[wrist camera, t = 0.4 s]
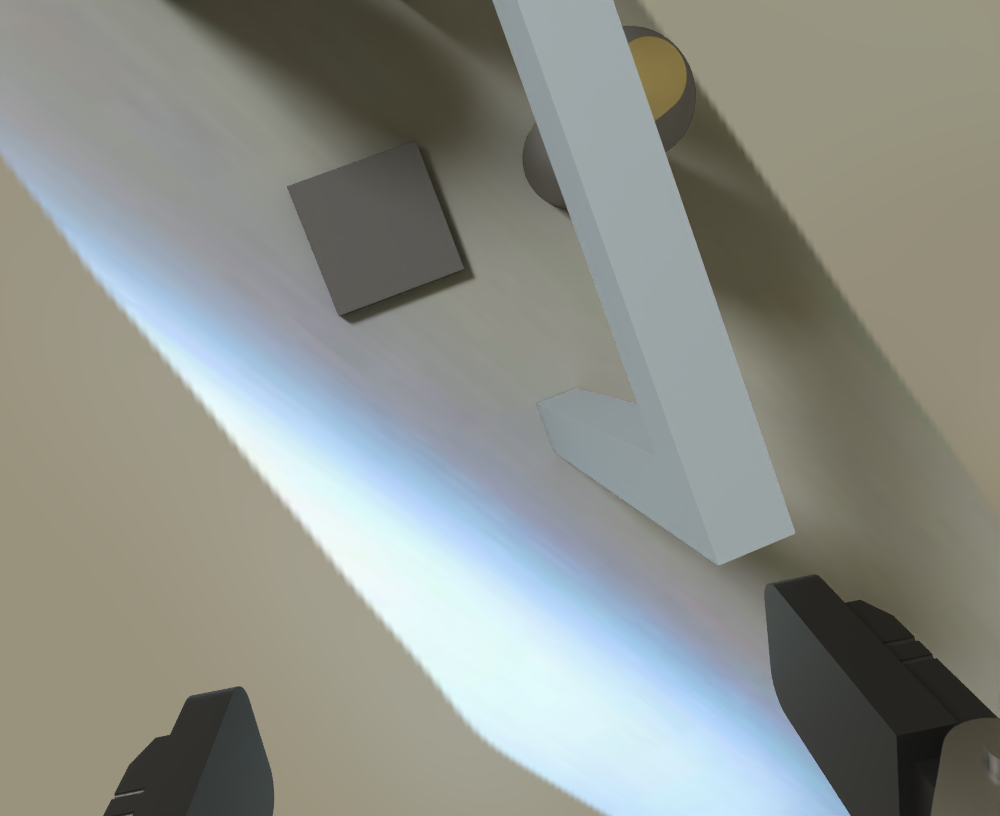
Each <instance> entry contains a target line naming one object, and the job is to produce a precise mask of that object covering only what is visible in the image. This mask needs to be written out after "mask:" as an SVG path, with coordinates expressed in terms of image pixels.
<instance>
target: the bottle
mask: <svg viewBox="0 0 1000 816" xmlns="http://www.w3.org/2000/svg"><path fill="white" fill-rule="evenodd" d="M622 28H623V30H624V33H625V36H626V39H627V42H628V45H629V48H630V51H631V54H632V57H633V60H634V63H635V66H636V68H637V71H638V74H639V77H640V80H641V83H642V86H643V89H644V92H645V95H646V98H647V101H648V104H649V106H650V109H651V112H652V115H653V118H654V121H655V124H656V127H657V130H658V133H659V136H660V139H661V141H662V144H663V147H664V150H665V152H667V151H668V150H669V149H671V148H672V147H673V146H674V145H675V144H676V143H677V142H678V141H679V140H680V139H681V138H682V136H683V135H684V133H685V132H686V130H687V128H688V126H689V124H690V122H691V119H692V116H693V113H694V108H695V100H696V90H695V83H694V78H693V74H692V71H691V69H690V66H689V64H688V62H687V60H686V59H685V57H684V55H683V54H682V53H681V51H680V50H679V49H678V48H677V47H676V46H675V45H674V44H673V43H672V42H671V41H670V40H669V39H667V38H666V37H664V36H663V35H661V34H659V33H657V32H655V31H653V30H650V29H647V28H643V27H636V26H624V27H622ZM523 167H524V172H525V175H526V177H527V180H528V182H529V184H530V185H531V187H532V188H533V190H534V191H535V192H536V193H537V194H538V195H539V196H540V197H541V198H542V199H544V200H545V201H547V202H548V203H550V204H552V205H555V206H557V207H561V208H567V206H566V204H565V201H564V198H563V195H562V192H561V190H560V187H559V184H558V181H557V179H556V176H555V173H554V170H553V167H552V165H551V162H550V159H549V156H548V154H547V151H546V148H545V145H544V142H543V140H542V137H541V134H540V131H539V129H538V126H537V123H535V124H534V126H533V128H532V129H531V131H530V132H529V134H528V136H527V139H526V141H525V144H524V149H523Z"/></svg>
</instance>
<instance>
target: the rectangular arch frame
mask: <svg viewBox="0 0 1000 816" xmlns="http://www.w3.org/2000/svg"><path fill="white" fill-rule="evenodd" d="M492 1H493V3H494V6H495V9H496V12H497V15H498V17H499V20H500V23H501V26H502V28H503V31H504V34H505V37H506V40H507V42H508V45H509V48H510V51H511V54H512V56H513V59H514V62H515V65H516V67H517V70H518V73H519V76H520V79H521V81H522V84H523V87H524V90H525V92H526V95H527V98H528V101H529V104H530V106H531V109H532V112H533V115H534V117H535V120H536V123H537V126H538V129H539V131H540V134H541V137H542V140H543V142H544V145H545V148H546V151H547V154H548V156H549V159H550V162H551V165H552V167H553V170H554V173H555V176H556V179H557V181H558V184H559V187H560V190H561V192H562V195H563V198H564V201H565V204H566V206H567V209H568V212H569V215H570V217H571V220H572V223H573V226H574V229H575V231H576V234H577V237H578V240H579V243H580V245H581V248H582V251H583V254H584V256H585V259H586V262H587V265H588V268H589V270H590V273H591V276H592V279H593V281H594V284H595V287H596V290H597V293H598V295H599V298H600V301H601V304H602V306H603V309H604V312H605V315H606V318H607V320H608V323H609V326H610V329H611V331H612V334H613V337H614V340H615V343H616V345H617V348H618V351H619V354H620V356H621V359H622V362H623V365H624V368H625V370H626V373H627V376H628V379H629V381H630V384H631V387H632V390H633V393H634V395H635V398H636V401H637V403H633V402H629V401H625V400H621V399H617V398H613V397H609V396H605V395H601V394H597V393H593V392H589V391H585V390H581V389H577V388H575V389H572V390H570V391H567V392H565V393H562V394H559V395H557V396H554V397H552V398H549V399H547V400H544V401H542V402H539V403H537V407H538V409H539V412H540V415H541V417H542V420H543V423H544V425H545V428H546V431H547V433H548V436H549V439H550V441H551V444H552V447H553V449H554V452H555V453H556V454H558V455H559V456H560V457H562V458H563V459H565V460H566V461H568V462H569V463H571V464H572V465H573V466H575V467H576V468H578V469H579V470H581V471H582V472H584V473H585V474H586V475H588V476H589V477H591V478H592V479H594V480H595V481H597V482H598V483H599V484H601V485H602V486H604V487H605V488H607V489H608V490H610V491H611V492H612V493H614V494H615V495H617V496H618V497H620V498H621V499H623V500H624V501H625V502H627V503H628V504H630V505H631V506H633V507H634V508H636V509H637V510H638V511H640V512H641V513H643V514H644V515H646V516H647V517H649V518H650V519H652V520H653V521H654V522H656V523H657V524H659V525H660V526H662V527H663V528H665V529H666V530H667V531H669V532H670V533H672V534H673V535H675V536H676V537H678V538H679V539H680V540H682V541H683V542H685V543H686V544H688V545H689V546H691V547H692V548H693V549H695V550H696V551H698V552H699V553H701V554H702V555H704V556H705V557H706V558H708V559H709V560H711V561H712V562H714V563H715V564H717V565H718V566H719V565H722V564H724V563H727V562H729V561H731V560H734V559H736V558H738V557H741V556H743V555H746V554H748V553H750V552H753V551H755V550H757V549H760V548H762V547H764V546H767V545H769V544H772V543H774V542H776V541H779V540H781V539H783V538H786V537H788V536H791V535H793V534H795V530H794V527H793V524H792V521H791V518H790V515H789V513H788V510H787V507H786V504H785V501H784V498H783V495H782V492H781V489H780V486H779V483H778V480H777V477H776V475H775V472H774V469H773V466H772V463H771V460H770V457H769V454H768V451H767V448H766V445H765V442H764V440H763V437H762V434H761V431H760V428H759V425H758V422H757V419H756V416H755V413H754V410H753V407H752V404H751V402H750V399H749V396H748V393H747V390H746V387H745V384H744V381H743V378H742V375H741V372H740V369H739V366H738V364H737V361H736V358H735V355H734V352H733V349H732V346H731V343H730V340H729V337H728V334H727V331H726V328H725V326H724V323H723V320H722V317H721V314H720V311H719V308H718V305H717V302H716V299H715V296H714V293H713V291H712V288H711V285H710V282H709V279H708V276H707V273H706V270H705V267H704V264H703V261H702V258H701V255H700V253H699V250H698V247H697V244H696V241H695V238H694V235H693V232H692V229H691V226H690V223H689V220H688V217H687V215H686V212H685V209H684V206H683V203H682V200H681V197H680V194H679V191H678V188H677V185H676V182H675V179H674V177H673V174H672V171H671V168H670V165H669V162H668V159H667V156H666V153H665V150H664V147H663V144H662V141H661V139H660V136H659V133H658V130H657V127H656V124H655V121H654V118H653V115H652V112H651V109H650V106H649V104H648V101H647V98H646V95H645V92H644V89H643V86H642V83H641V80H640V77H639V74H638V71H637V68H636V66H635V63H634V60H633V57H632V54H631V51H630V48H629V45H628V42H627V39H626V36H625V33H624V30H623V28H622V25H621V22H620V19H619V16H618V13H617V10H616V7H615V4H614V1H613V0H492Z"/></svg>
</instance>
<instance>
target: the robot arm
mask: <svg viewBox="0 0 1000 816" xmlns="http://www.w3.org/2000/svg"><path fill="white" fill-rule="evenodd" d="M765 609H766V620H767V631H768V643H769V654H770V665H771V674H772V679H773V684H774V687H775V691H776V694H777V697H778V700H779V702H780V705H781V707H782V709H783V711H784V713H785V714H786V716H787V718H788V719H789V721H790V722H791V724H792V725H793V727H794V729H795V730H796V732H797V733H798V735H799V736H800V738H801V739H802V741H803V742H804V744H805V746H806V747H807V749H808V750H809V752H810V753H811V755H812V756H813V758H814V760H815V761H816V763H817V764H818V766H819V767H820V769H821V770H822V772H823V773H824V775H825V777H826V778H827V780H828V781H829V783H830V784H831V786H832V787H833V789H834V790H835V792H836V794H837V795H838V797H839V798H840V800H841V801H842V803H843V804H844V806H845V807H846V809H847V811H848V812H849V814H850V815H851V816H1000V718H998V717H997V716H996V715H995V714H994V713H993V712H992V711H991V710H989V709H988V708H987V707H986V706H985V705H984V704H983V703H982V702H981V701H980V700H979V699H978V698H977V697H976V696H975V695H974V694H973V693H972V692H971V691H970V690H969V689H968V688H967V687H966V686H965V685H964V684H963V683H962V682H961V681H960V680H959V679H958V678H957V677H955V676H954V675H953V674H952V673H951V672H950V671H949V670H948V669H947V668H946V667H945V666H944V665H943V664H942V663H941V662H940V661H939V660H938V659H937V658H936V659H934V658H933V656H932V653H931V652H930V651H929V650H928V649H927V648H926V647H925V646H924V645H923V644H922V643H920V642H919V641H915V638H914V636H913V635H912V634H911V633H910V632H909V631H908V630H907V629H906V628H905V627H904V626H903V625H902V624H901V623H900V622H899V621H898V620H897V619H896V618H895V617H894V616H893V615H891V614H889V613H887V612H885V611H882V610H880V609H878V608H876V607H874V606H872V605H870V604H868V603H866V602H864V601H862V600H857V601H852V602H847V603H844V602H843V601H842V599H841V598H840V597H839V596H838V595H837V594H836V593H835V592H834V591H833V590H832V589H831V588H830V587H829V586H828V585H827V584H826V583H825V582H824V581H823V579H822V578H820V577H819V576H818V575H809V576H804V577H799V578H794V579H789V580H784V581H779V582H774V583H769V584H767V585H766V588H765ZM273 809H274V786H273V778H272V773H271V769H270V765H269V762H268V759H267V756H266V752H265V749H264V746H263V743H262V740H261V736H260V733H259V730H258V727H257V724H256V721H255V717H254V713H253V710H252V707H251V704H250V701H249V698H248V695H247V693H246V691H245V690H244V689H243V688H242V687H239V686H238V687H233V688H228V689H223V690H218V691H213V692H208V693H203V694H198V695H192V696H190V697H189V698H188V699H187V700H186V702H185V704H184V706H183V708H182V710H181V712H180V715H179V717H178V719H177V721H176V723H175V725H174V727H173V730H172V732H171V734H170V735H167V736H162V737H158V738H155V739H154V740H153V741H152V742H151V743H150V744H149V745H148V746H147V747H146V748H145V750H143V752H141V754H140V755H139V756H138V757H137V758H136V759H135V760H134V761H133V762H132V763H131V764H130V765H129V766H128V769H127V770H126V772H125V774H124V776H123V778H122V780H121V782H120V784H119V786H118V788H117V790H116V792H115V799H112V800H111V802H110V804H109V806H108V808H107V810H106V812H105V813H104V815H103V816H272V815H273Z"/></svg>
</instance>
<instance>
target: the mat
mask: <svg viewBox="0 0 1000 816" xmlns="http://www.w3.org/2000/svg"><path fill="white" fill-rule="evenodd" d="M287 188H288V190H289V193H290V195H291V198H292V200H293V203H294V205H295V208H296V210H297V213H298V215H299V218H300V220H301V223H302V225H303V228H304V230H305V233H306V235H307V238H308V240H309V243H310V245H311V248H312V250H313V253H314V255H315V258H316V260H317V263H318V265H319V268H320V270H321V273H322V275H323V278H324V280H325V283H326V285H327V288H328V290H329V293H330V295H331V298H332V300H333V303H334V305H335V308H336V310H337V313H338V315H339V316H342V315H344V314H347V313H350V312H352V311H355V310H358V309H360V308H363V307H366V306H368V305H371V304H374V303H376V302H379V301H382V300H384V299H387V298H390V297H392V296H395V295H398V294H400V293H403V292H406V291H408V290H411V289H414V288H416V287H419V286H422V285H424V284H427V283H430V282H432V281H435V280H438V279H440V278H443V277H446V276H448V275H451V274H454V273H456V272H459V271H462V270H463V269H464V267H463V264H462V262H461V259H460V256H459V254H458V251H457V248H456V246H455V243H454V241H453V238H452V235H451V233H450V230H449V227H448V225H447V222H446V219H445V217H444V214H443V211H442V209H441V206H440V204H439V201H438V198H437V196H436V193H435V190H434V188H433V185H432V182H431V180H430V177H429V175H428V172H427V169H426V167H425V164H424V161H423V159H422V156H421V153H420V151H419V148H418V145H417V143H416V140H415V141H413V142H410V143H407V144H404V145H401V146H399V147H396V148H393V149H390V150H387V151H385V152H382V153H379V154H376V155H374V156H371V157H368V158H365V159H362V160H360V161H357V162H354V163H351V164H348V165H346V166H343V167H340V168H337V169H335V170H332V171H329V172H326V173H323V174H321V175H318V176H315V177H312V178H309V179H307V180H304V181H301V182H298V183H295V184H293V185H290V186H287Z"/></svg>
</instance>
